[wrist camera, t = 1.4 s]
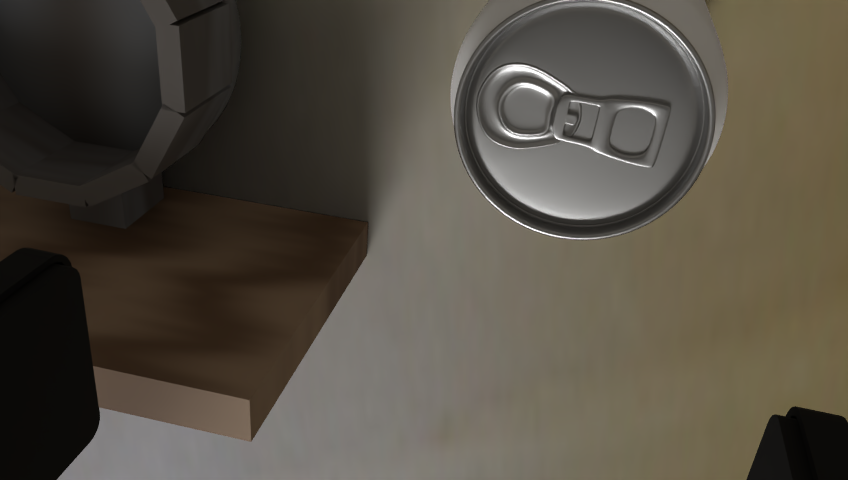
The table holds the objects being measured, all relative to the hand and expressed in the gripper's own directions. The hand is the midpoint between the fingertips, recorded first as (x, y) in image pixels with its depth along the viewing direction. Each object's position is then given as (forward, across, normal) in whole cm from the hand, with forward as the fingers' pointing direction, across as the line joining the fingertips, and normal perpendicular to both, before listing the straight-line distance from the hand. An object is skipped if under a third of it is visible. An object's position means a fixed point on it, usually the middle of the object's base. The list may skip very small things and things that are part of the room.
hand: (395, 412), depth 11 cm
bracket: (+21, +16, +3) cm, 27 cm away
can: (+21, -2, -1) cm, 21 cm away
